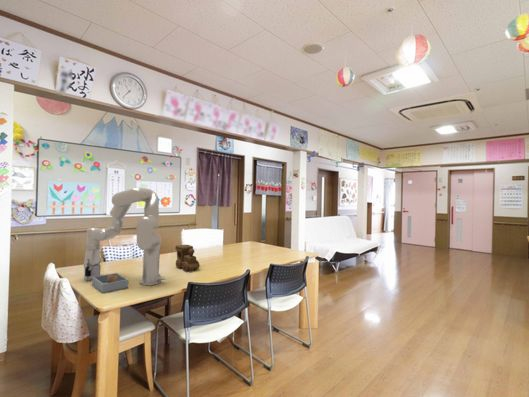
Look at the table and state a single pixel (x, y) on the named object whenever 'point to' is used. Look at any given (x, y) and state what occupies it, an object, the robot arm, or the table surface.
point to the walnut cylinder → (112, 278)
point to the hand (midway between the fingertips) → (92, 274)
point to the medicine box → (93, 272)
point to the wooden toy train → (186, 257)
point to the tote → (105, 287)
